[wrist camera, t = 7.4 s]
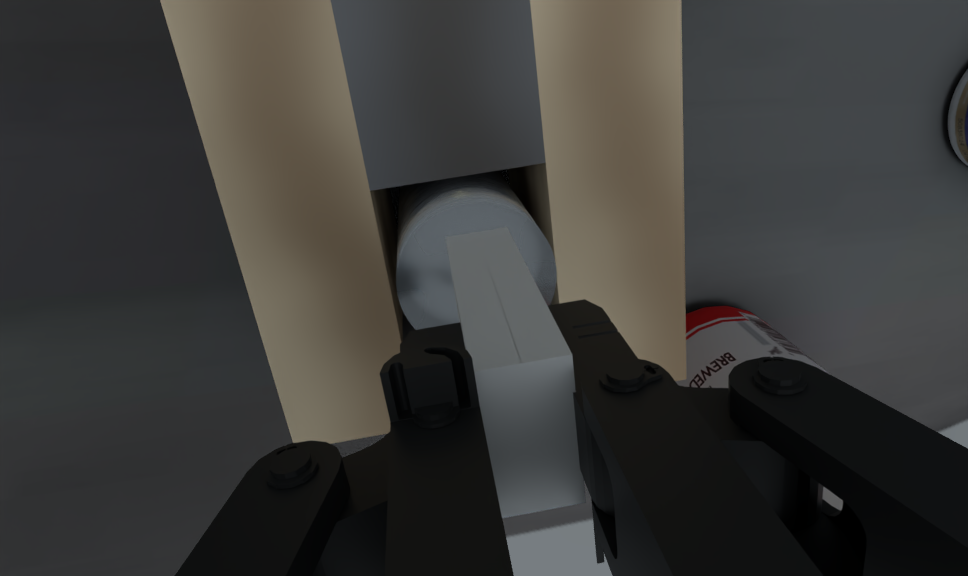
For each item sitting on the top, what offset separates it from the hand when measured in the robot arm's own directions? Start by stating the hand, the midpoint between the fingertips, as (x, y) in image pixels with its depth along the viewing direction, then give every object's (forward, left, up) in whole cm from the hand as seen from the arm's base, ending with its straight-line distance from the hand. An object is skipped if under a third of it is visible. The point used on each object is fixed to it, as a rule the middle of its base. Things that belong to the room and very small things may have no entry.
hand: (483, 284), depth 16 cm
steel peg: (0, 0, -8) cm, 8 cm away
